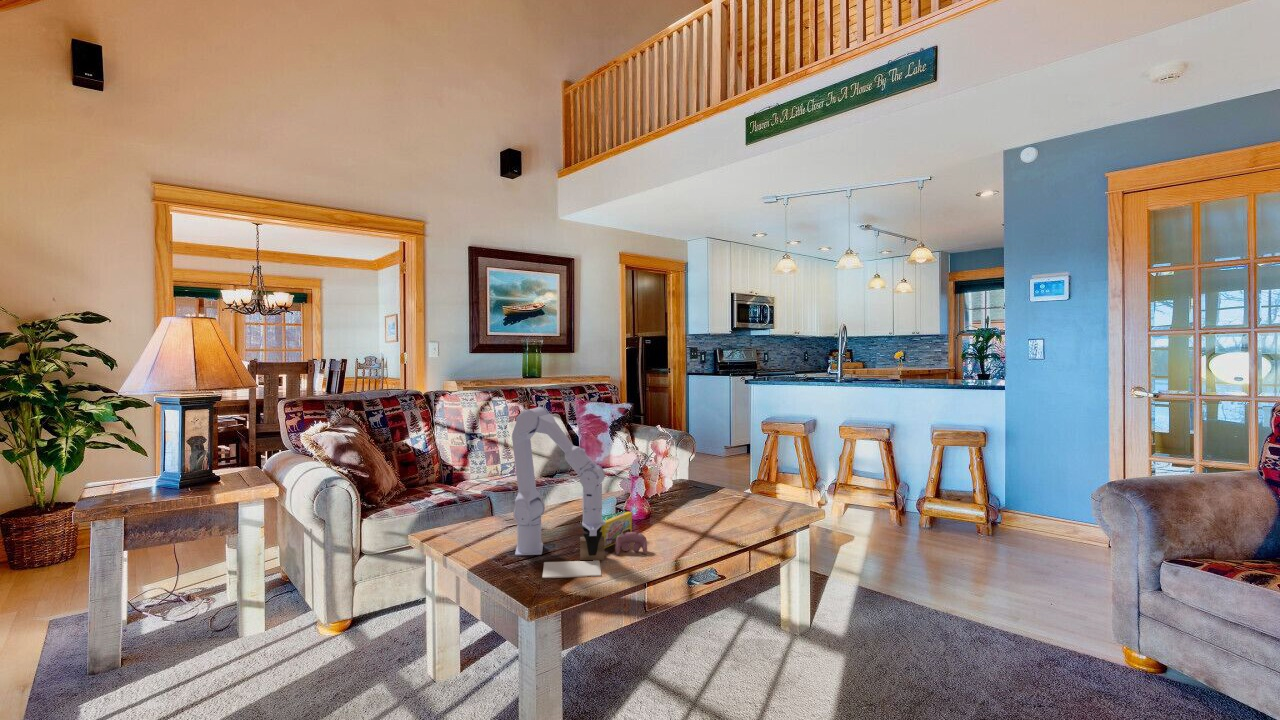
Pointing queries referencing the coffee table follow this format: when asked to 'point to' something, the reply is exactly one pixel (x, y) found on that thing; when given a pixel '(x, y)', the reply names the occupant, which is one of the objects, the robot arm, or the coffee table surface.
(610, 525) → the candy box
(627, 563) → the coffee table surface
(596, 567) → the mat
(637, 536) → the video game controller
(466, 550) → the coffee table surface
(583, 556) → the brown block
